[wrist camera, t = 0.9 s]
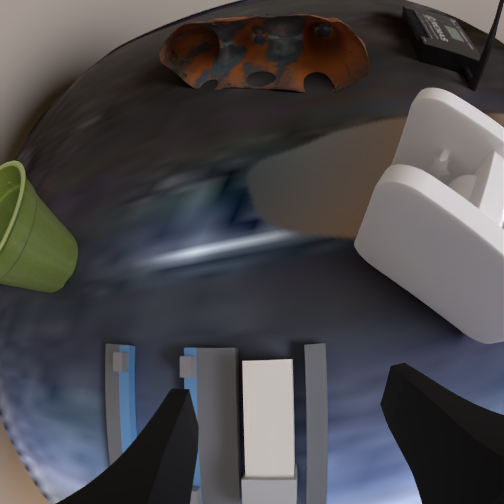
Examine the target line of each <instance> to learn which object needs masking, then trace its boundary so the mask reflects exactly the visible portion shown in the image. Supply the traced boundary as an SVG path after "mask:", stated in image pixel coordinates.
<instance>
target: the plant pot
mask: <svg viewBox="0 0 504 504" xmlns="http://www.w3.org/2000/svg"><path fill="white" fill-rule="evenodd" d="M77 258H78V246H77V242H76V240H75V238H74V237H73V235H72V234H71V233H70V232H69V231H68V230H67V228H66V227H65V226H64V225H63V224H62V223H61V222H60V221H59V220H58V219H57V217H56V216H55V215H54V214H53V213H52V212H51V211H50V209H49V208H48V207H47V206H46V205H45V204H44V203H43V201H42V200H41V199H40V198H39V197H38V195H37V194H36V192H35V189H34V188H33V186H32V185H31V183H30V182H29V181H28V179H27V178H26V173H25V169H24V167H23V165H22V164H21V163H20V162H18V161H11V162H7V163H5V164H3V165H2V166H0V283H1V284H5V285H10V286H15V287H20V288H25V289H30V290H35V291H40V292H46V293H53V292H56V291H58V290H60V289H61V288H63V287H64V285H65V283H66V281H67V280H68V279H69V278H70V277H71V276H72V274H73V272H74V270H75V267H76V263H77Z"/></svg>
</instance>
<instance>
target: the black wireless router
mask: <svg viewBox="0 0 504 504" xmlns="http://www.w3.org/2000/svg"><path fill="white" fill-rule="evenodd" d="M503 3H504V0H500V2H499V5H498V9H497V13H496V16H495V19H494V23H493V25H492V27H491V30H490V32H489V34H488V37H487V39H486V42H485V45H484V48H483V51H482V53H481V56H480V54H479V52H478V51H477V49H476V48H475V46H474V45H473V44H472V42H471V41H470V39H469V38H468V36H467V35H466V34H465V32H464V31H463V30H462V28H461V27H460V25H459V24H458V23H457V22H456V20H455V19H452V18H449V17H446V16H443V15H439V14H436V13H433V12H429V11H425V10H422V9H418V8H414V7H410V6H405V5H403V11H402V19H401V20H402V22H403V24H404V26H405V28H406V31H407V33H408V35H409V37H410V39H411V42H412V44H413V46H414V49H415V51H416V53H417V56H418V58H419V61H420V62H423V63H427V64H431V65H434V66H438V67H442V68H445V69H448V70H452V71H455V72H458V73H461V74H465V75H466V78H467V80H468V82H469V84H470V85H469V88H470V89H471V90H473V91H475V90H476V88H477V86H478V83H479V81H480V78H481V76H482V74H483V71H484V68H485V66H486V63H487V61H488V58H489V55H490V53H491V50H492V47H493V44H494V40H495V35H496V31H497V26H498V22H499V18H500V15H501V11H502V7H503Z"/></svg>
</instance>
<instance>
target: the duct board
mask: <svg viewBox="0 0 504 504" xmlns="http://www.w3.org/2000/svg"><path fill="white" fill-rule="evenodd" d="M304 352H305V378H306V420H307V480H306V504H326V496H327V466H328V402H327V370H326V348H325V343H320V344H307V345H304ZM180 377H182V378H184V389H189V390H190V394H191V398H192V402H193V406H194V410H195V414H196V418H197V422H198V425H199V436H198V454H197V461H196V467H195V474H194V480H193V487H192V493H191V500H190V504H242V482H241V449H240V414H239V371H238V348H184V356H180ZM105 398H106V422H107V437H108V449H109V459H110V465H112V464H113V463H114V462H115V461H116V460H117V459H118V458H119V457H120V456H121V455H122V454H123V453H124V452H125V450H126V449H127V448H128V447H129V446H130V445H131V444H132V442H133V441H134V440H135V439H136V438H137V431H136V410H135V346H131V345H119V344H107V343H106V355H105Z"/></svg>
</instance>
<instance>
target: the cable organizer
mask: <svg viewBox="0 0 504 504" xmlns="http://www.w3.org/2000/svg"><path fill="white" fill-rule="evenodd" d="M354 246H355V248H356V250H357V252H358V253H359V254H360V256H361V257H362V258H363V259H364V260H365V261H367V262H368V263H369V264H370V265H371V266H373V267H374V268H376V269H377V270H379V271H380V272H381V273H383V274H384V275H386V276H387V277H389V278H390V279H391V280H393V281H394V282H396V283H397V284H398V285H400V286H401V287H403V288H404V289H405V290H407V291H408V292H410V293H411V294H412V295H414V296H415V297H416V298H418V299H419V300H421V301H422V302H423V303H425V304H426V305H427V306H429V307H430V308H431V309H433V310H434V311H435V312H437V313H438V314H439V315H441V316H442V317H443V318H445V319H446V320H447V321H449V322H450V323H451V324H453V325H454V326H455V327H456V328H458V329H459V330H460V331H462V332H463V333H464V334H466V335H467V336H469V337H470V338H472V339H474V340H476V341H479V342H482V343H486V344H491V343H496V342H501V341H504V128H503V127H502V126H501V125H500V124H498V123H497V122H495V121H494V120H493V119H491V118H490V117H488V116H487V115H485V114H484V113H483V112H481V111H480V110H478V109H477V108H475V107H473V106H472V105H470V104H469V103H467V102H466V101H464V100H462V99H461V98H459V97H457V96H456V95H454V94H452V93H450V92H448V91H446V90H442V89H438V88H426V89H423V90H422V91H420V92H419V93H418V95H417V97H416V98H415V100H414V101H413V103H412V105H411V108H410V111H409V114H408V117H407V121H406V124H405V127H404V130H403V133H402V136H401V139H400V142H399V145H398V148H397V151H396V154H395V156H394V160H393V162H392V165H391V166H390V167H388V168H387V169H386V170H385V172H384V174H383V175H382V176H381V178H380V180H379V181H378V183H377V184H376V186H375V188H374V190H373V193H372V196H371V199H370V202H369V205H368V208H367V210H366V213H365V216H364V218H363V221H362V224H361V226H360V229H359V231H358V234H357V237H356V239H355V242H354Z"/></svg>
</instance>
